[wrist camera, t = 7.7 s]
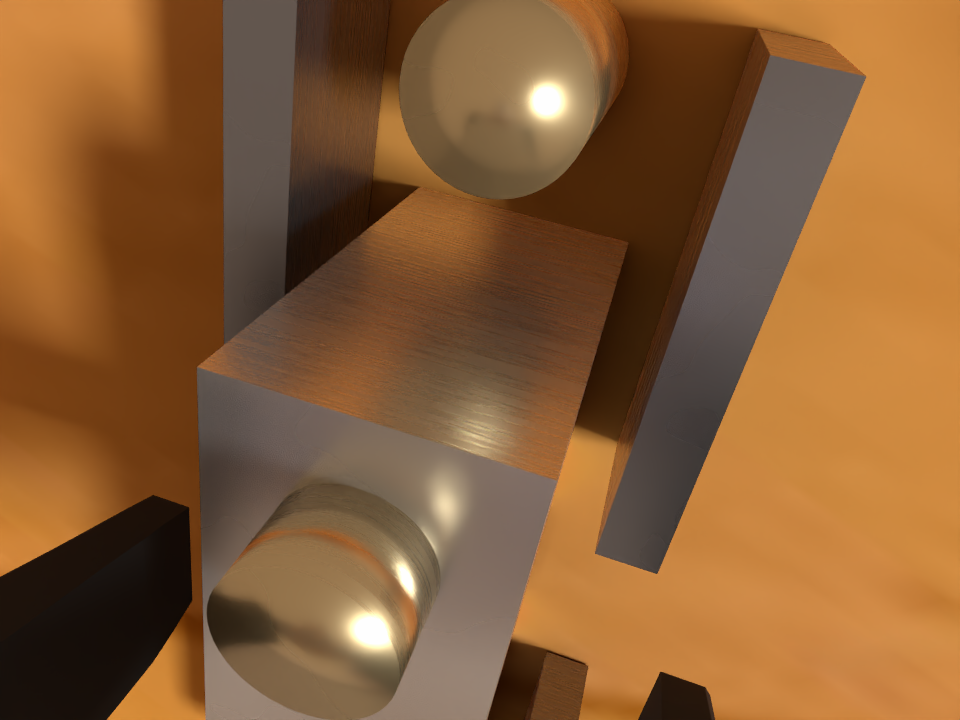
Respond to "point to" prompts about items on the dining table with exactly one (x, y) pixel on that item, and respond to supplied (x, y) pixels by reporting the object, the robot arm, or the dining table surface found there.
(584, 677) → the end link
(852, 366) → the dining table surface
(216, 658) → the block with brass knobs
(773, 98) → the end link
